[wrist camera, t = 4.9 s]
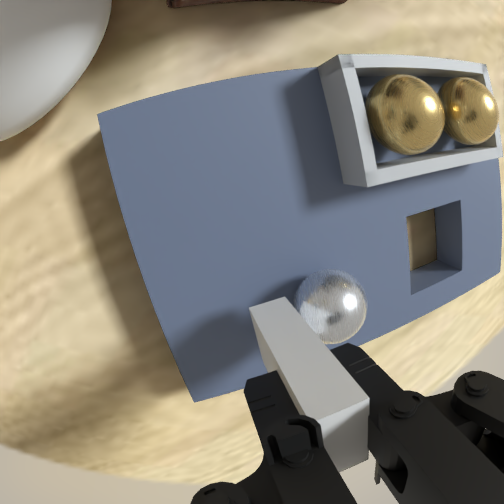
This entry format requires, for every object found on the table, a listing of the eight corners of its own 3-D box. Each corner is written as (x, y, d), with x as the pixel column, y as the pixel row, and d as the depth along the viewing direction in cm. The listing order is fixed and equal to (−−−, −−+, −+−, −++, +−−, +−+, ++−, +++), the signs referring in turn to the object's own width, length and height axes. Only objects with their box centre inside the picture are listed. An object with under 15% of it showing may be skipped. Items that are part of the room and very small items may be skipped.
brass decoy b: (428, 147, 15) (479, 148, 11) (414, 81, 13) (463, 69, 10) (467, 142, 15) (514, 143, 12) (456, 82, 14) (502, 75, 11)
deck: (190, 374, 17) (197, 429, 13) (109, 122, 13) (83, 105, 9) (477, 262, 21) (519, 280, 16) (457, 76, 17) (505, 68, 12)
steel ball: (300, 365, 13) (376, 350, 12) (287, 297, 12) (373, 281, 11) (297, 324, 16) (360, 312, 15) (285, 265, 15) (354, 252, 14)
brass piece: (358, 160, 14) (408, 161, 10) (341, 84, 13) (387, 65, 9) (415, 149, 14) (466, 150, 11) (401, 81, 13) (450, 68, 10)
